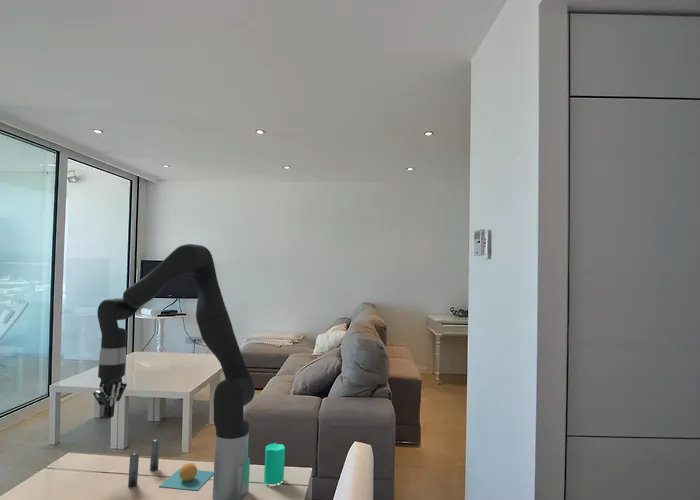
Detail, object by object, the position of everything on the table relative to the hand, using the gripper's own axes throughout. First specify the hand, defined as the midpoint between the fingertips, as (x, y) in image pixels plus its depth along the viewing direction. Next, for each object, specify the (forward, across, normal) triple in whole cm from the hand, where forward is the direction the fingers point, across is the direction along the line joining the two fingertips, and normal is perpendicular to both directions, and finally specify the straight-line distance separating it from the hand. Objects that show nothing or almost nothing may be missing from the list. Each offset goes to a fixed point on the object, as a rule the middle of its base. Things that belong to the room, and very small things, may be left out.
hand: (108, 417), depth 135 cm
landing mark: (+17, +1, -27) cm, 32 cm away
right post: (+17, +5, -13) cm, 22 cm away
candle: (+17, +4, -53) cm, 56 cm away
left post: (+17, -6, -13) cm, 22 cm away
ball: (+14, 0, -27) cm, 31 cm away
